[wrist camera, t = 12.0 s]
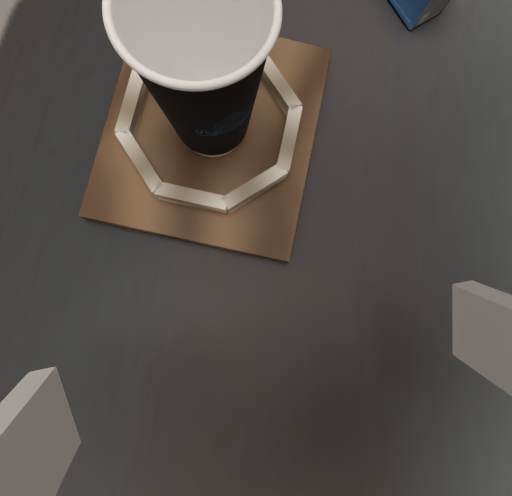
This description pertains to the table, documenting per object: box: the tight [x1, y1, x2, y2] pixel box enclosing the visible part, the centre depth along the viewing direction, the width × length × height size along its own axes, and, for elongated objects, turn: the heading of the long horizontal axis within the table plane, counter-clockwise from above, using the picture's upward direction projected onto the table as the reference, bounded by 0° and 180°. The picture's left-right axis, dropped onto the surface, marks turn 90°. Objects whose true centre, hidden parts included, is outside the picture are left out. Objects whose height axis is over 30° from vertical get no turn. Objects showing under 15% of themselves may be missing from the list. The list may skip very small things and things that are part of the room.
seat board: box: [78, 37, 331, 263], centre depth 25 cm, size 16×18×3 cm
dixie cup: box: [102, 0, 282, 157], centre depth 19 cm, size 8×8×11 cm
